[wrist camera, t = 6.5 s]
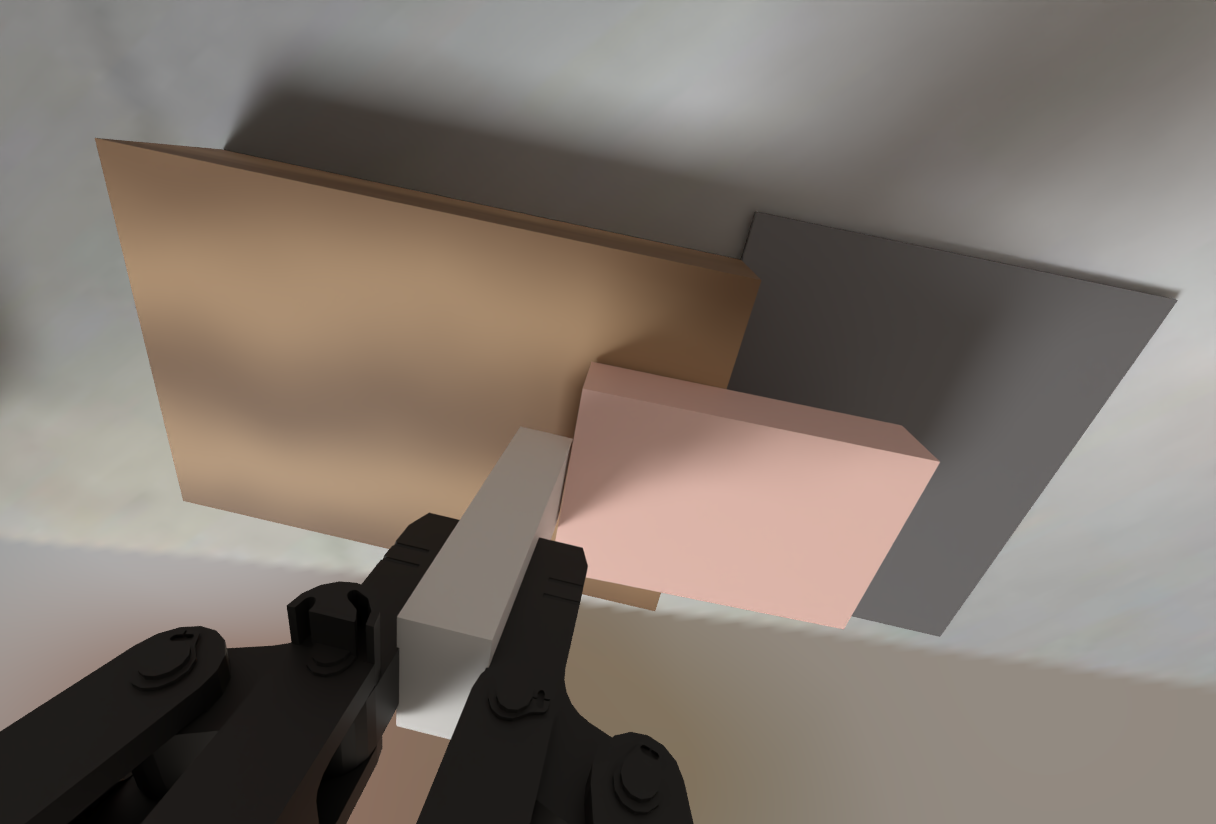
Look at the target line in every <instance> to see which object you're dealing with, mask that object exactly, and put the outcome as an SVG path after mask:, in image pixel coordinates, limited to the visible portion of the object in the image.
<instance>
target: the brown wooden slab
mask: <svg viewBox="0 0 1216 824" xmlns="http://www.w3.org/2000/svg"><path fill="white" fill-rule="evenodd" d="M95 140H96V145H97V149H98V153H99V157H100V161H101V165H102V169H103V173H104V177H105V182H106V186H107V190H108V194H109V198H110V202H111V206H112V210H113V214H114V218H115V223H116V227H117V231H118V235H119V239H120V243H121V247H122V251H123V255H124V259H125V264H126V268H127V272H128V276H129V280H130V284H131V288H132V292H133V296H134V301H135V305H136V309H137V313H138V317H139V321H140V325H141V329H142V333H143V337H144V342H145V346H146V350H147V354H148V358H149V362H150V366H151V370H152V374H153V378H154V383H155V387H156V391H157V395H158V399H159V403H160V407H161V411H162V415H163V420H164V424H165V428H166V432H167V436H168V440H169V444H170V448H171V452H172V456H173V461H174V465H175V469H176V473H177V477H178V481H179V485H180V489H181V493H182V498H183V501H186V502H191V503H195V504H199V505H203V506H208V507H212V508H216V509H221V510H225V511H229V512H233V513H238V514H242V515H246V516H250V517H255V518H259V519H263V520H268V521H272V522H276V523H280V524H285V525H289V526H293V527H297V528H302V529H306V530H310V531H315V532H319V533H323V534H327V535H332V536H336V537H340V538H344V539H349V540H353V541H357V542H362V543H366V544H370V545H374V546H379V547H383V548H387V549H390V548H391V547H392V545H395V542H396V540H397V539H398V538H399V536H400V535H401V534H402V533H403V531H404V530H405V529H406V528H407V526H408V525H409V524H411V523H413V522H414V521H416V520H418V519H419V518H421V517H423V516H424V515H426V514H428V513H433V514H437V515H442V516H446V517H450V518H454V519H458V520H460V519H461V517H462V516H463V514H464V513H465V511H466V510H467V508H468V507H469V505H470V504H471V502H472V500H473V499H474V497H475V496H476V494H477V493H478V491H479V490H480V488H481V487H482V485H483V484H484V482H485V480H486V479H487V477H488V476H489V474H490V473H491V471H492V470H493V468H494V467H495V465H496V463H497V462H498V460H499V459H500V457H501V456H502V454H503V453H504V451H505V450H506V448H507V447H508V445H509V443H510V442H511V440H512V439H513V437H514V436H515V434H516V433H517V431H518V430H519V428H520V427H525V428H529V429H533V430H538V431H542V432H546V433H551V434H555V435H559V436H564V437H568V438H572V439H574V434H575V428H576V423H577V417H578V412H579V406H580V400H581V395H582V389H583V386H584V383H585V380H586V377H587V374H588V371H589V368H590V365H591V362H596V363H601V364H606V365H611V366H615V367H620V368H625V369H630V370H635V371H640V372H645V373H649V374H654V375H659V376H664V377H669V378H674V379H679V380H683V381H688V382H693V383H698V384H703V385H708V386H713V387H718V388H722V389H727V386H728V383H729V380H730V377H731V373H732V370H733V367H734V364H735V361H736V358H737V355H738V352H739V349H740V346H741V342H742V339H743V336H744V333H745V330H746V327H747V324H748V321H749V318H750V314H751V311H752V308H753V305H754V302H755V299H756V296H757V293H758V290H759V286H760V283H761V279H760V278H759V277H758V276H757V275H756V274H755V273H754V272H753V271H752V270H751V269H750V268H749V267H748V266H747V265H746V264H745V263H744V262H743V261H742V260H740V259H735V258H730V257H726V256H721V255H716V254H711V253H707V252H702V251H697V250H693V249H688V248H683V247H679V246H674V245H669V244H664V243H660V242H655V241H650V240H646V239H641V238H636V237H631V236H627V235H622V234H617V233H613V232H608V231H603V230H598V229H594V228H589V227H584V226H580V225H575V224H570V223H565V222H561V221H556V220H551V219H547V218H542V217H537V216H533V215H528V214H523V213H518V212H514V211H509V210H504V209H500V208H495V207H490V206H485V205H481V204H476V203H471V202H467V201H462V200H457V199H452V198H448V197H443V196H438V195H434V194H429V193H424V192H419V191H415V190H410V189H405V188H401V187H396V186H391V185H387V184H382V183H377V182H372V181H368V180H363V179H358V178H354V177H349V176H344V175H339V174H335V173H330V172H325V171H321V170H316V169H311V168H306V167H302V166H297V165H292V164H288V163H283V162H278V161H273V160H269V159H264V158H259V157H255V156H250V155H245V154H241V153H236V152H231V151H226V150H222V149H211V148H200V147H189V146H178V145H167V144H156V143H144V142H133V141H122V140H111V139H100V138H95ZM572 445H573V443H572ZM571 451H572V448H571ZM570 456H571V454H570ZM569 462H570V459H569ZM568 467H569V464H568ZM567 473H568V470H567ZM566 478H567V475H566ZM565 484H566V481H565ZM564 490H565V486H564ZM563 495H564V491H563ZM562 501H563V497H562ZM561 506H562V502H561ZM560 512H561V508H560ZM559 517H560V513H559ZM558 523H559V518H558V521H557V524H556V526H555V529H554V532H553V535H552V538H551V540H553V541H555V540H556V534H557V529H558ZM582 594H584V595H588V596H592V597H597V598H601V599H605V600H609V601H614V602H618V603H622V604H627V605H631V606H635V607H639V608H644V609H648V610H652V611H655V610H656V607H657V603H658V600H659V597H660V594H661V592H656V591H651V590H646V589H641V588H636V587H632V586H627V585H622V584H617V583H612V582H607V581H602V580H597V579H592V578H587V577H586V578H585V583H584V587H583V592H582Z"/></svg>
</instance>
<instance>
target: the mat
mask: <svg viewBox="0 0 1216 824" xmlns="http://www.w3.org/2000/svg"><path fill="white" fill-rule="evenodd" d="M741 260H742V261H743V262H744V263H745V264H746V265H747V266H748V267H749V268H750V269H751V270H752V271H753V272H754V273H755V274H756V275H757V276H758V277H759V278H760V279H761V283H760V286H759V290H758V293H757V296H756V299H755V302H754V305H753V308H752V311H751V314H750V318H749V321H748V324H747V327H746V330H745V333H744V336H743V339H742V342H741V346H740V349H739V352H738V355H737V358H736V361H735V364H734V367H733V370H732V373H731V377H730V380H729V383H728V386H727V390H732V391H737V392H742V393H747V394H752V395H756V396H761V397H766V398H771V399H776V400H781V401H786V402H790V403H795V404H800V405H805V406H810V407H815V408H820V409H824V410H829V411H834V412H839V413H844V414H849V415H854V416H859V417H863V418H868V419H873V420H878V421H883V422H888V423H893V424H897V425H902V426H903V427H904V428H905V429H906V430H907V431H908V432H909V433H910V434H911V435H912V436H914V437H915V438H916V439H917V440H918V441H919V442H920V443H921V444H922V445H923V446H924V447H925V448H926V449H927V450H928V451H929V452H930V453H931V454H932V455H933V456H935V457H936V458H937V459H938V460H939V461H940V463H939V465H938V467H937V468H936V470H935V472H934V474H933V475H932V477H931V479H930V480H929V482H928V484H927V486H926V487H925V489H924V491H923V493H922V494H921V496H920V498H919V500H918V501H917V503H916V505H915V506H914V508H913V510H912V512H911V513H910V515H909V517H908V519H907V520H906V522H905V524H904V526H903V527H902V529H901V531H900V533H899V534H898V536H897V538H896V539H895V541H894V543H893V545H892V546H891V548H890V550H889V552H888V553H887V555H886V557H885V559H884V560H883V562H882V564H881V565H880V567H879V569H878V571H877V572H876V574H875V576H874V578H873V579H872V581H871V583H870V585H869V586H868V588H867V590H866V592H865V593H864V595H863V597H862V598H861V600H860V602H859V604H858V605H857V607H856V609H855V611H854V612H853V614H852V616H853V617H858V618H862V619H866V620H870V621H875V622H879V623H883V624H888V625H892V626H896V627H901V628H905V629H909V630H914V631H918V632H922V633H927V634H931V635H935V636H941V634H942V633H943V632H944V630H945V629H946V627H947V626H948V625H949V623H950V622H951V620H952V619H953V617H954V616H955V615H956V613H957V612H958V610H959V609H960V608H961V606H962V605H963V603H964V602H965V600H966V599H967V598H968V596H969V595H970V593H971V592H972V591H973V589H974V588H975V586H976V585H977V583H978V582H979V581H980V579H981V578H982V576H983V575H984V574H985V572H986V571H987V569H988V568H989V567H990V565H991V564H992V562H993V561H994V559H995V558H996V557H997V555H998V554H999V552H1000V551H1001V550H1002V548H1003V547H1004V545H1005V544H1006V542H1007V541H1008V540H1009V538H1010V537H1011V535H1012V534H1013V533H1014V531H1015V530H1016V528H1017V527H1018V525H1019V524H1020V523H1021V521H1022V520H1023V518H1024V517H1025V516H1026V514H1027V513H1028V511H1029V510H1030V509H1031V507H1032V506H1033V504H1034V503H1035V501H1036V500H1037V499H1038V497H1039V496H1040V494H1041V493H1042V492H1043V490H1044V489H1045V487H1046V486H1047V484H1048V483H1049V482H1050V480H1051V479H1052V477H1053V476H1054V475H1055V473H1056V472H1057V470H1058V469H1059V468H1060V466H1061V465H1062V463H1063V462H1064V460H1065V459H1066V458H1067V456H1068V455H1069V453H1070V452H1071V451H1072V449H1073V448H1074V446H1075V445H1076V443H1077V442H1078V441H1079V439H1080V438H1081V436H1082V435H1083V434H1084V432H1085V431H1086V429H1087V428H1088V426H1089V425H1090V424H1091V422H1092V421H1093V419H1094V418H1095V417H1096V415H1097V414H1098V412H1099V411H1100V410H1101V408H1102V407H1103V405H1104V404H1105V402H1106V401H1107V400H1108V398H1109V397H1110V395H1111V394H1112V393H1113V391H1114V390H1115V388H1116V387H1117V385H1118V384H1119V383H1120V381H1121V380H1122V378H1123V377H1124V376H1125V374H1126V373H1127V371H1128V370H1129V368H1130V367H1131V366H1132V364H1133V363H1134V361H1135V360H1136V359H1137V357H1138V356H1139V354H1140V353H1141V352H1142V350H1143V349H1144V347H1145V346H1146V344H1147V343H1148V342H1149V340H1150V339H1151V337H1152V336H1153V335H1154V333H1155V332H1156V330H1157V329H1158V327H1159V326H1160V325H1161V323H1162V322H1163V320H1164V319H1165V318H1166V316H1167V315H1168V313H1169V312H1170V311H1171V309H1172V308H1173V306H1174V305H1175V303H1176V302H1177V301H1178V300H1175V299H1171V298H1166V297H1161V296H1157V295H1152V294H1147V293H1142V292H1137V291H1133V290H1128V289H1123V288H1118V287H1114V286H1109V285H1104V284H1099V283H1094V282H1090V281H1085V280H1080V279H1075V278H1071V277H1066V276H1061V275H1056V274H1051V273H1047V272H1042V271H1037V270H1032V269H1028V268H1023V267H1018V266H1013V265H1008V264H1004V263H999V262H994V261H989V260H985V259H980V258H975V257H970V256H965V255H961V254H956V253H951V252H946V251H942V250H937V249H932V248H927V247H922V246H918V245H913V244H908V243H903V242H899V241H894V240H889V239H884V238H879V237H875V236H870V235H865V234H860V233H856V232H851V231H846V230H841V229H836V228H832V227H827V226H822V225H817V224H813V223H808V222H803V221H798V220H793V219H789V218H784V217H779V216H774V215H770V214H765V213H760V212H755V215H754V218H753V221H752V225H751V228H750V231H749V235H748V238H747V241H746V245H745V248H744V251H743V255H742V258H741Z"/></svg>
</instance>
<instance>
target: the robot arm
mask: <svg viewBox="0 0 1216 824" xmlns="http://www.w3.org/2000/svg"><path fill="white" fill-rule="evenodd" d="M572 443H573V439H572V438H568V437H564V436H559V435H555V434H551V433H546V432H542V431H538V430H533V429H529V428H525V427H520V428H519V430H518V431H517V433H516V434H515V436H514V437H513V439H512V440H511V442H510V443H509V445H508V447H507V448H506V450H505V451H504V453H503V454H502V456H501V457H500V459H499V460H498V462H497V463H496V465H495V467H494V468H493V470H492V471H491V473H490V474H489V476H488V477H487V479H486V480H485V482H484V484H483V485H482V487H481V488H480V490H479V491H478V493H477V494H476V496H475V497H474V499H473V500H472V502H471V504H470V505H469V507H468V508H467V510H466V511H465V513H464V514H463V516H462V517H461V519H460V520H458V519H454V518H450V517H446V516H442V515H437V514H433V513H428V514H426V515H424V516H423V517H421V518H419V519H418V520H416V521H414V522H413V523H411V524H409V525H408V526H407V528H406V529H405V530H404V531H403V533H402V534H401V535H400V536H399V538H398V539H397V540H396V542H395V545H392V547H391V548H390V549H389V550H388V552H387V553H386V554H385V555H384V558H383V560H380V562H379V563H378V564H377V565H376V567H375V568H374V569H373V571H372V572H371V573H370V574H369V576H368V577H367V578H366V579H365V581H364V582H363V583H362V584H361V585H360V584H358V583H351V582H335V583H329V584H324V585H320V586H317V587H315V588H313V589H311V590H309V591H306V592H304V593H302V594H301V595H299V596H298V597H297V598H296V599H294V600H293V601H292V602H291V603H289V604H288V605H287V611H288V619H289V626H290V634H291V641H292V642H291V643H288V644H282V645H275V646H262V647H244V648H226V643H225V640H224V639H223V638H222V637H221V636H220V634H219V633H218V632H217V631H215V630H212V629H209V628H205V627H202V626H195V627H179V628H176V629H173V630H169V631H166V632H162V633H158V634H156V635H154V636H152V637H150V638H148V639H146V640H144V641H143V642H141V643H139V644H137V645H135V646H133V647H132V648H130V649H128V650H127V651H125V652H124V653H122V654H121V655H119V656H117V657H116V658H114V659H113V660H112V661H110V662H108V663H107V664H105V665H103V666H102V667H101V668H99V669H97V670H96V671H94V672H92V673H91V674H90V675H88V676H86V677H85V678H83V679H82V680H80V681H79V682H77V683H75V684H74V685H72V686H71V687H69V688H67V689H66V690H64V691H63V692H61V693H60V694H58V695H57V696H55V697H53V698H52V699H50V700H49V701H47V702H46V703H44V704H42V705H41V706H39V707H38V708H36V709H35V710H33V711H32V712H30V713H28V714H27V715H25V716H24V717H22V718H21V719H19V720H18V721H16V722H14V723H13V724H11V725H10V726H9V727H7V728H5V729H3V730H2V731H0V824H346V823H347V821H348V819H349V817H350V815H351V813H352V811H353V809H354V807H355V805H356V803H357V801H358V799H359V798H360V796H361V794H362V792H363V790H364V788H365V786H366V784H367V782H368V780H369V778H370V776H371V774H372V772H373V770H374V768H375V766H376V765H377V762H378V759H379V756H380V753H381V750H382V735H383V733H384V731H385V729H386V727H387V725H388V723H389V722H390V720H391V718H392V716H393V714H394V712H395V710H396V708H397V716H396V717H397V720H396V723H397V724H396V725H397V726H399V727H403V728H407V729H411V730H415V731H419V732H423V733H427V734H431V735H435V736H440V737H443V738H447V739H451V740H450V742H449V745H448V747H447V750H446V753H445V755H444V757H443V760H442V762H441V764H440V767H439V769H438V772H437V774H436V777H435V779H434V782H433V784H432V786H431V789H430V791H429V794H428V796H427V799H426V801H425V804H424V806H423V808H422V811H421V813H420V816H419V818H418V821H417V823H416V824H693V819H692V815H691V810H690V806H689V801H688V797H687V792H686V788H685V784H684V780H683V777H682V775H681V772H680V770H679V767H678V765H677V762H676V760H675V759H674V758H673V757H672V755H671V754H670V753H669V752H668V751H667V749H666V748H665V747H664V746H663V745H662V744H660V743H658V742H657V741H656V740H654V739H652V738H651V737H649V736H648V735H643V734H638V733H633V732H628V733H625V734H620V735H615V736H614V737H610V736H609V735H607V734H606V733H604V732H603V731H601V730H600V729H598V728H597V727H595V726H594V725H592V724H591V723H589V722H588V721H587V720H586V719H584V718H583V717H582V716H581V715H580V714H579V713H578V712H577V710H576V709H575V708H574V706H573V705H572V704H571V701H570V699H569V697H568V695H567V693H566V687H565V681H564V676H565V667H566V662H567V658H568V654H569V649H570V645H571V641H572V636H573V632H574V627H575V622H576V618H577V614H578V609H579V605H580V601H581V596H582V592H583V587H584V583H585V578H586V574H587V570H588V564H587V560H586V557H585V554H584V550H583V548H582V547H578V546H574V545H569V544H565V543H561V542H557V541H553V540H551V538H552V535H553V532H554V529H555V526H556V524H557V521H558V518H559V513H560V508H561V502H562V497H563V491H564V486H565V481H566V475H567V470H568V464H569V459H570V454H571V448H572Z"/></svg>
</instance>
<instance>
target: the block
mask: <svg viewBox="0 0 1216 824" xmlns="http://www.w3.org/2000/svg"><path fill="white" fill-rule="evenodd" d="M939 463H940V461H939V460H938V459H937V458H936V457H935V456H933V455H932V454H931V453H930V452H929V451H928V450H927V449H926V448H925V447H924V446H923V445H922V444H921V443H920V442H919V441H918V440H917V439H916V438H915V437H914V436H912V435H911V434H910V433H909V432H908V431H907V430H906V429H905V428H904V427H903V426H902V425H897V424H893V423H888V422H883V421H878V420H873V419H868V418H863V417H859V416H854V415H849V414H844V413H839V412H834V411H829V410H824V409H820V408H815V407H810V406H805V405H800V404H795V403H790V402H786V401H781V400H776V399H771V398H766V397H761V396H756V395H752V394H747V393H742V392H737V391H732V390H727V389H722V388H718V387H713V386H708V385H703V384H698V383H693V382H688V381H683V380H679V379H674V378H669V377H664V376H659V375H654V374H649V373H645V372H640V371H635V370H630V369H625V368H620V367H615V366H611V365H606V364H601V363H596V362H591V365H590V368H589V371H588V374H587V377H586V380H585V383H584V386H583V389H582V395H581V400H580V406H579V412H578V417H577V423H576V428H575V434H574V439H573V445H572V451H571V456H570V462H569V467H568V473H567V478H566V484H565V490H564V495H563V501H562V506H561V512H560V517H559V523H558V529H557V534H556V540H555V541H557V542H561V543H565V544H569V545H574V546H578V547H582V548H583V550H584V554H585V557H586V560H587V564H588V570H587V574H586V577H587V578H592V579H597V580H602V581H607V582H612V583H617V584H622V585H627V586H632V587H636V588H641V589H646V590H651V591H656V592H661V593H666V594H671V595H676V596H681V597H686V598H691V599H696V600H701V601H706V602H711V603H716V604H721V605H726V606H731V607H736V608H741V609H746V610H751V611H756V612H761V613H766V614H771V615H776V616H781V617H786V618H791V619H795V620H800V621H805V622H810V623H815V624H820V625H825V626H830V627H835V628H840V629H844V628H845V626H846V624H847V623H848V621H849V619H850V618H851V616H852V614H853V612H854V611H855V609H856V607H857V605H858V604H859V602H860V600H861V598H862V597H863V595H864V593H865V592H866V590H867V588H868V586H869V585H870V583H871V581H872V579H873V578H874V576H875V574H876V572H877V571H878V569H879V567H880V565H881V564H882V562H883V560H884V559H885V557H886V555H887V553H888V552H889V550H890V548H891V546H892V545H893V543H894V541H895V539H896V538H897V536H898V534H899V533H900V531H901V529H902V527H903V526H904V524H905V522H906V520H907V519H908V517H909V515H910V513H911V512H912V510H913V508H914V506H915V505H916V503H917V501H918V500H919V498H920V496H921V494H922V493H923V491H924V489H925V487H926V486H927V484H928V482H929V480H930V479H931V477H932V475H933V474H934V472H935V470H936V468H937V467H938V465H939Z"/></svg>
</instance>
